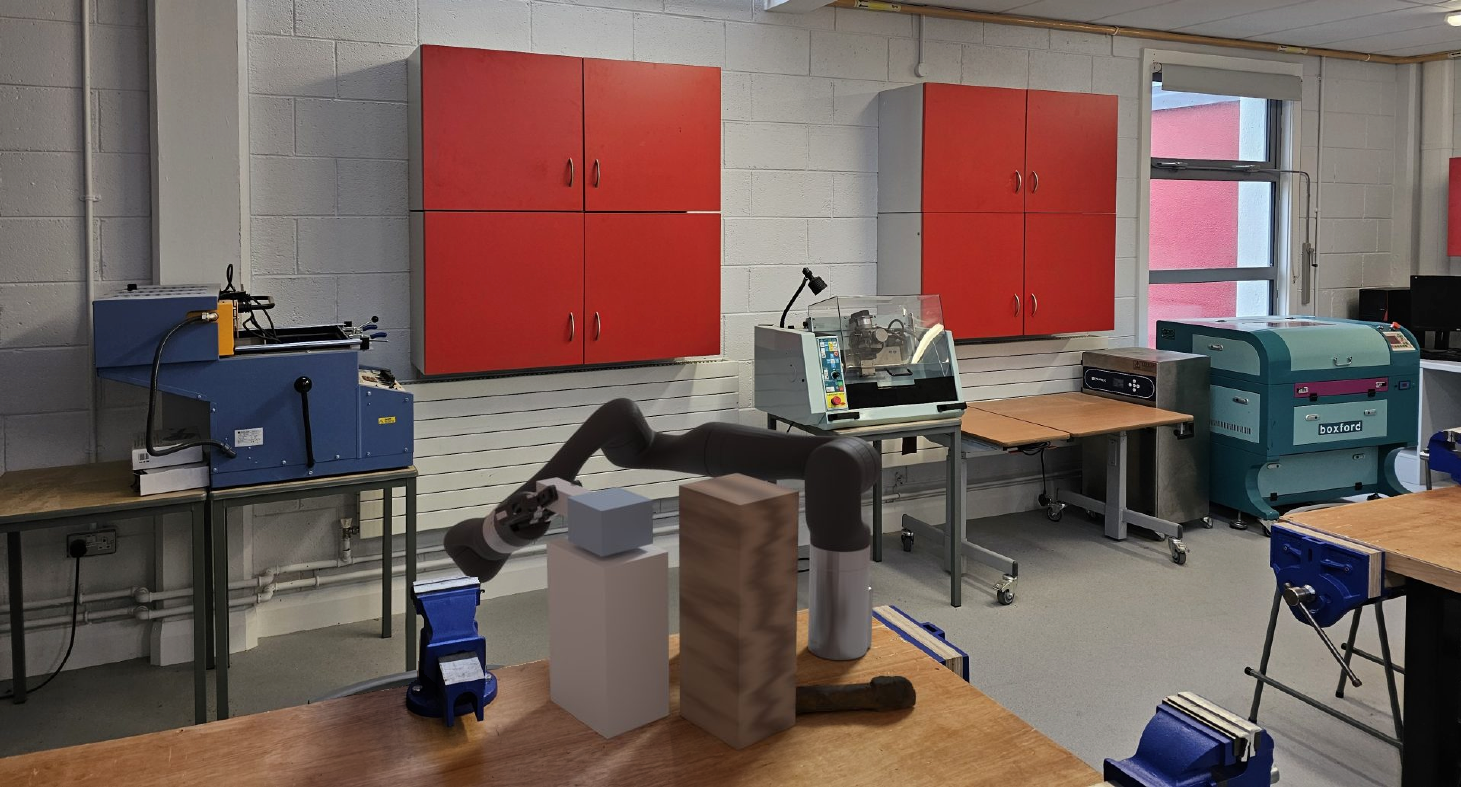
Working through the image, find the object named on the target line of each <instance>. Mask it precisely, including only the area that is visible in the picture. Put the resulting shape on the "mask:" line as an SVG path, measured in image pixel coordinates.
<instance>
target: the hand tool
mask: <svg viewBox="0 0 1461 787" xmlns="http://www.w3.org/2000/svg"><path fill="white" fill-rule="evenodd" d="M916 702H917V692H916V689H915V688H914V686H913V683H912V682H911V680H909V678H907V677H905V676H902V675H893V676H892V675H891V676H890V675H879V676H873V677H872V678H871V680H870V681H868V682H867V681H866V682H861V683H845V684H844V683H842V684H829V685H827V684H826V685H818V684H817V685H816V684H814V685H806V686H804V685H799V686H798V685H796V702H795V717H796V716H797V715H798V714H801V713H813V712H814V713H815V712H828V711H829V712H834V711H835V712H836V711H848V710H859V709H860V710H861V709H866V710H867V709H869V710H870V709H871V710H873V711H874V712H876V713H886V712H892V711H899V710H903V709H907V708H910V707H914V706H915V705H916Z"/></svg>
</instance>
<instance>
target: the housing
mask: <svg viewBox="0 0 1461 787" xmlns="http://www.w3.org/2000/svg"><path fill="white" fill-rule="evenodd" d="M550 485H555V486H556V490H557V494H558V500H557V501H555V502H554V503H552V504H550V505H549V506H547V507H545V508H546V509H548V510H551V511H553V512H555V513H558V514H559V515H561V516H562V517H565V518H566V519H567V536H568V541H569V542H572V543H574V544H576V545H578V546H580V547H582V548H584V549H587V550H589V551H591V552H593V553H595V554H597V555H599V556H602V557H603V556H607V555H611V554H615V553H619V552H622V551H626V550H630V549H634V548H638V547H642V546H646V545H650V544H651V545H654V522H653V521H654V508H653V507H654V506H653V505H654V503H653V501H654V499H652V498H649V497H646V496H643V495H642V494H638V493H635V492H633V491H630V490H627V489H625V488H622V487H619V486H615V487H611V488H607V489H602V490H597V491H593V490H591V489H588V488H586V487H584V486H583V487H580V486H578V485H575V484H572V483H570V482H568V481H565V480H562V479H560V478H551V479H546V480H541V481H536V491H537V492H541V491H542V490H543V489H545V488H546V487H548V486H550Z"/></svg>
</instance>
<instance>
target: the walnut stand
mask: <svg viewBox="0 0 1461 787" xmlns="http://www.w3.org/2000/svg"><path fill="white" fill-rule="evenodd" d="M799 513H800V491H799V490H797V489H792V488H789V487H787V486H782V485H779V484H776V483H772V482H770V481H763V480H759V479H756V478H752V477H749V476H745V475H742V474H739V473H735V474H730V475H725V476H721V477H716V478H713V477H710V478H707V479H702V480H698V481H693V482H688V483H684V484H679V485H678V582H679V583H678V585H679V586H678V592H679V594H678V598H679V599H678V601H679V602H678V608H679V609H678V616H679V619H678V620H679V621H678V622H679V623H678V624H679V625H678V628H679V629H678V630H679V636H678V638H679V640H678V641H679V646H678V648H679V656H678V657H679V661H678V662H679V716H680V717H682V718H684V719H685V720H687V721H688V722H690V723H692V724H694V725H695V726H697V727H698V728H700V729H702V730H703V731H705V732H707V733H709V734H710V735H711V736H714V737H715V738H717V739H718V740H721V741H722V742H723V743H725V744H727V745H728V746H730V747H732V748H733V749H735V750H737V751H740V750H742V749H744V748H747V747H750V746H751V745H754V744H756V743H758V742H760V741H763V740H765V739H767V738H770V737H772V736H773V735H776V734H779V733H781V732H783V731H786V730H787V729H789V728H792V727H794V726H796V716H795V702H796V687H797V638H798V636H797V635H798V634H797V631H798V628H797V627H798V587H799V586H798V584H799V582H798V577H799V575H798V574H799V526H800V525H799V518H800V516H799V515H800V514H799Z"/></svg>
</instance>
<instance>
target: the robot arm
mask: <svg viewBox="0 0 1461 787" xmlns="http://www.w3.org/2000/svg"><path fill="white" fill-rule="evenodd" d="M599 450H601V451H602V454H603V455H604V457H605V458H606V459H607V460H608V462H610V463H611V464H612V465H614V466H616V467H618V468H623V469H630V470H631V469H632V470H650V471H651V470H652V471H653V470H654V471H656V470H657V471H670V472H677V473H683V474H692V475H698V476H704V477H709V478H716V477H721V476H725V475H730V474H735V473H739V474H742V475H745V476H749V477H752V478H756V479H759V480H763V481H766V482H770V481H771V482H772V481H783V480H785V481H786V480H798V481H804V513H805V514H804V516H805V522H806V526H807V529H808V531H809V570H808V571H809V573H808V574H809V580H808V622H807V623H808V627H807V629H808V630H807V631H808V633H807V649H808V650H809V652H810V653H811V654H813V655H815V656H817V657H819V658H823V659H826V660H833V661H850V660H855V659H858V658H861V657H863V656H864V655H865V654H866V653H867V652H868V649H869V648H870V647H872V642H873V640H872V639H873V638H872V637H873V635H872V634H873V610H874V608H873V607H874V606H873V605H874V604H873V602H874V590H873V588H872V587H871V586H870V569H871V565H870V564H871V539H872V538H871V536H872V534H871V533H872V532H871V527H870V525H869V524H868V523H867V522H866V521H865V520H863V519H862V517H863V516H862V495H863V494H865V493H866V492H868V491H869V490H871V489H872V488H873V487H874V485H875V484H876V483H877V482H878V481H879V478H880V477H881V474H882V472H883V463H882V459H881V455H880V454H879V452H878V451H877V450H876V448H875V447H874V446H873V445H872V444H871V443H870V442H868V441H866V440H864V439H862V438H860V437H857V436H851V435H805V434H797V433H791V432H785V431H779V430H775V429H770V428H764V427H755V426H751V425H746V424H745V425H744V424H739V423H731V422H725V421H724V422H723V421H708V422H706V423H703V424H700V425H698V426H696V427H694V428H692V429H690V430H688V431H687V432H685V433H684V434H683V433H682V434H679V435H677V434H675V435H674V434H669V433H663V432H658V431H656V430H653V428H651V427H650V425H649V423H648V422H647V420H646V418H645V417H644V414H643V412H642V411H641V409H640V407H639V406H638V404H637V403H636V402H635V401H634V400H632V399H630V398H627V397H618V398H613V399H611V400H608V401H607V402H605V403H604V404H603V405H600V406H599V407H598V408H597V409H596V410H595V411H594V412H593V413H592V414H591V415H589V417H588V418H587V419H586V420H585V421H584V422H583V423H582V424H581V425H580V427H578V429H577V430H576V431H575V432H574V433H572V435H571V436H570V437H569V438H568V440H566V441H565V443H564V444H563V445H562V446H561V447H560V448H559V450H558V451H556V453H555V454H554V455H553V456H552V457H551V458H550V459H549V460H548V461H547V463H546V464H545V465H544V466H542V468H540V469H539V470H538V471H537V472H536V473H535V474H534V475H533V476H531V477H530V478H529V479H528V480H527V481H526V482H524V483H523V484H522V485H521V486H519V487H518V488H517V489H515V491H513V492H512V493H511V494H510V495H508V496H507V497H506V498H505V499H503V500H502V501H501V502H500V503H499V504H497V506H495V507H494V508H493V509H492V510H491V512H489V514H487V515H485V516H484V517H473V518H468V519H467V518H466V519H464V520H461V521H459V522H457V523H455V524H454V525H453V526H451V527H450V528H449V529H448V530H447V531H446V533H445V534H444V538H443V541H442V542H443V549H444V551H445V552H446V554H447V555H448V556H449V557H450V559H451V560H452V562H454V564H455V565H456V566H457V568H459V570H460V571H461V572H462V573H463V574H464V576H465V577H466V576H470V577H478V580H479V582H480V585H481V584H486V583H487V582H490V581H492V580H493V578H495V577H496V576H497V575H498V574H499V572H500V571H501V570H502V568H503V567H504V566H505V563H506V562H507V561H508V560H509V558H510V557H511V555H512V554H513V553H515V552H517V551H520V550H522V549H524V548H526V547H527V546H529V545H530V544H532V543H534V542H536V541H537V540H539V539H540V538H542V537H543V536H545V534H546V533H547V532H548V531H549V528H550V526H551V524H552V520H555V519H556V517H557V516H558V515H560V514H558V513H555V512H553V511H551V510H548V509H546V508H545V507H547V506H549V505H550V504H552V503H554V502H555V501H557V500H558V494H557V490H556V486H555V485H550V486H548V487H546V488H545V489H543V490H542V491H541V492H537V491H536V481H541V480H546V479H551V478H560V479H562V480H565V481H568V482H570V483H572V484H575V485H578V486H580V487H583V488H584V486H583V483H582V481H581V480H580V479H576V478H577V476H578V474H579V472H580V471H581V469H582V468H583V467H584V465H585V463H586V462H587V461H588V460H589V459H590V458H591V457H592V456H593V455H594V454H595V453H596V452H597V451H599ZM575 479H576V480H575Z"/></svg>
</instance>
